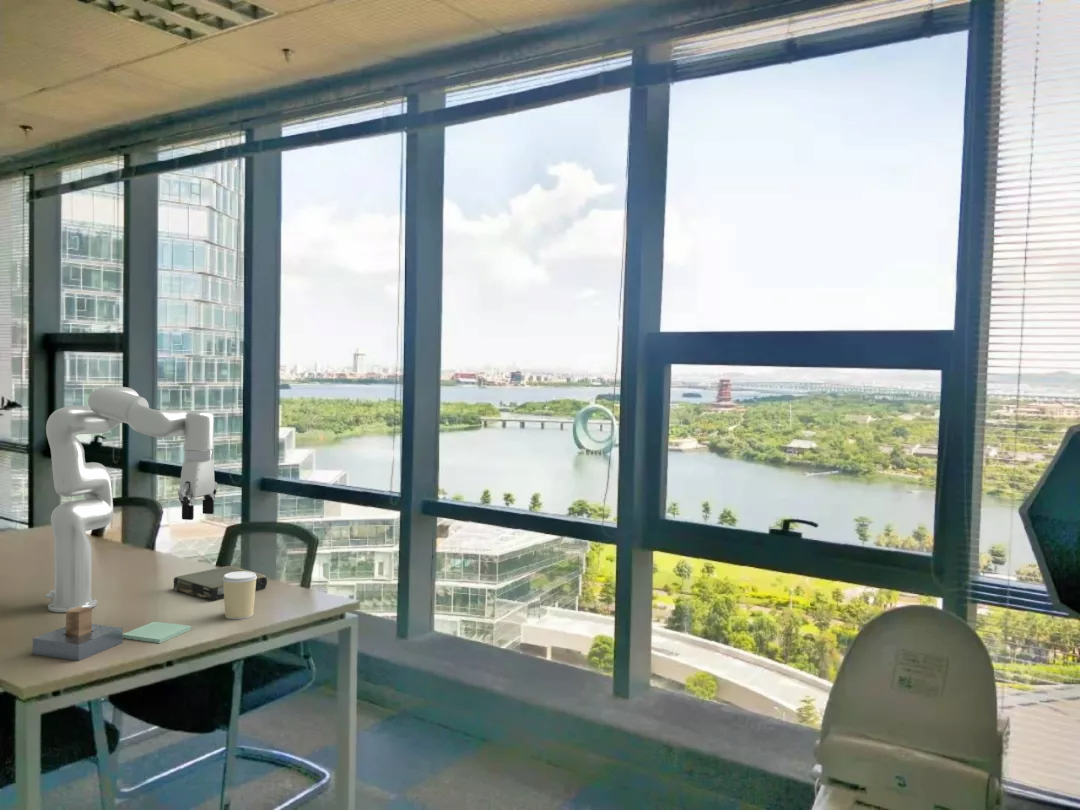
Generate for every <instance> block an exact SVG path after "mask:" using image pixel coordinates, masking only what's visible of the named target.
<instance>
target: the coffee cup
mask: <svg viewBox="0 0 1080 810" xmlns="http://www.w3.org/2000/svg"><path fill="white" fill-rule="evenodd" d="M249 571H250V570H248V571H238V572H231V573H227V574H225V575H224V577H223V582H224V598H223V599H224V601H223V602H224V613H225V614H224V615H225V616H224V617H225V618H226V619H230V620H242V619H247V618H251V617H252V616H253V615H254V607H255V599H256V591H255V589H256V579H257V576H256V574H255V573H256V572H255V573H254V571H251V572H249Z"/></svg>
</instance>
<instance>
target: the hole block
mask: <svg viewBox="0 0 1080 810" xmlns="http://www.w3.org/2000/svg"><path fill="white" fill-rule="evenodd" d="M122 634H123V627H120V626H119V627H118V626H111V625H106V624H97V623H92V628H91V633H88V634H85V635H83V636H80V637H76V636H68V635H66V626H64V627H60V628H58V629H55V630H51V631H49V632H47V633H43V634H41V635H38V636H36V637H35V636H34V637H33V638H32V655H36V656H43V657H51V658H57V659H63V660H64V659H66V660H71V661H78V662H80V661H81V660H84V659H87V658H88V657H91V656H94V655H97V654H98V653H101V652H103V651H106V650H109V649H111V648H113V647H116V646H118V644H119V645H121V644H123V638H122ZM115 645H116V646H115ZM108 648H109V649H108Z"/></svg>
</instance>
